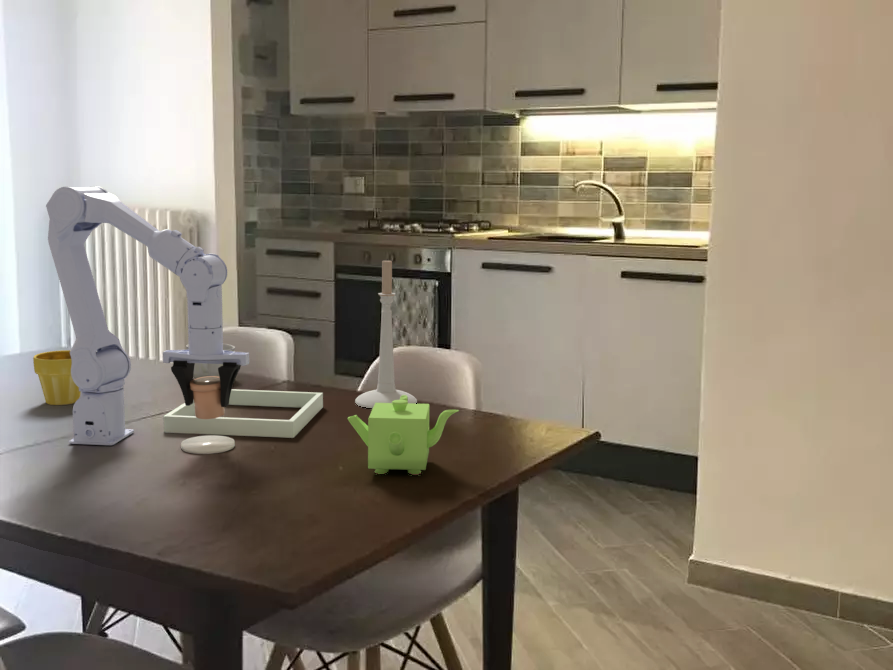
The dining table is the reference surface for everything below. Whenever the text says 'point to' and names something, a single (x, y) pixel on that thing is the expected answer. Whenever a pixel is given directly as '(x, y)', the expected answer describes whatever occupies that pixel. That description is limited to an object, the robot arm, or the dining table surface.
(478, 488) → the dining table surface
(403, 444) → the kettle
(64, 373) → the plant pot
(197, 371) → the teacup
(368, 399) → the candlestick
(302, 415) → the rectangular frame
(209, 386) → the terracotta pot
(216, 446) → the saucer
